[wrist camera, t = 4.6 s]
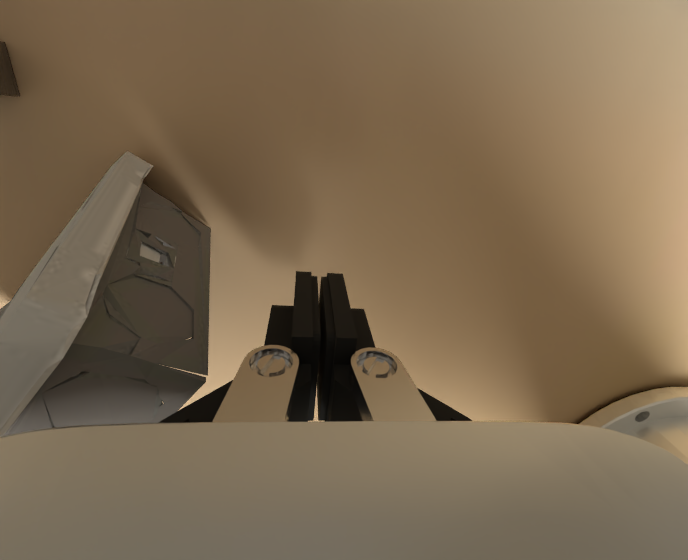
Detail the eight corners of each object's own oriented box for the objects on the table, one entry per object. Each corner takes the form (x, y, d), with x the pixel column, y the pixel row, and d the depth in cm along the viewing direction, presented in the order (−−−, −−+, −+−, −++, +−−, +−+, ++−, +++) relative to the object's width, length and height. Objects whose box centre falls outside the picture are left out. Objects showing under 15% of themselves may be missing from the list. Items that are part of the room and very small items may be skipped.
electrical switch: (135, 142, 12) (-155, 246, 4) (253, 230, 14) (219, 406, 6) (21, 310, 14) (-301, 584, 6) (138, 362, 17) (8, 610, 9)
